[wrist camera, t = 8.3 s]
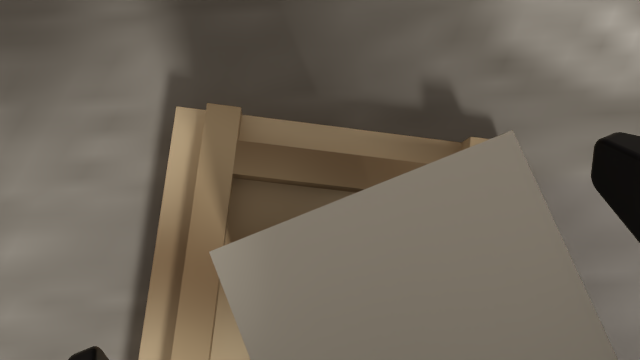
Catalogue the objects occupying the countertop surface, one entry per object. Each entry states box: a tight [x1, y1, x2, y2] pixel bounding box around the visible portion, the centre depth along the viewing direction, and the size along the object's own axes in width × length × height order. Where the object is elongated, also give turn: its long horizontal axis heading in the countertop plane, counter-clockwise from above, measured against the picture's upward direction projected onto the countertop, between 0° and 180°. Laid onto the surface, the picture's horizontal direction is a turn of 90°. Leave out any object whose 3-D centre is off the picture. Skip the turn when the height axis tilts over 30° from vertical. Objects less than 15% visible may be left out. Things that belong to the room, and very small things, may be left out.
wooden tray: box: [138, 103, 489, 360], centre depth 18 cm, size 11×11×2 cm
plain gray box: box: [209, 130, 618, 360], centre depth 13 cm, size 4×4×10 cm
